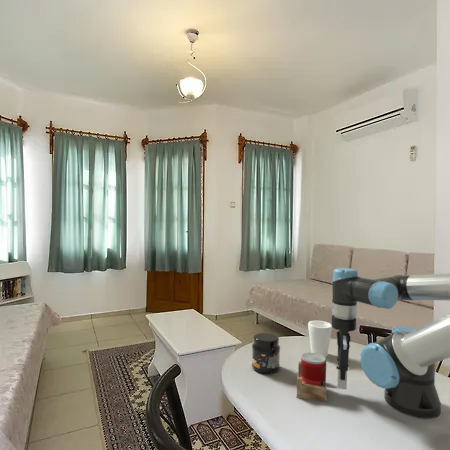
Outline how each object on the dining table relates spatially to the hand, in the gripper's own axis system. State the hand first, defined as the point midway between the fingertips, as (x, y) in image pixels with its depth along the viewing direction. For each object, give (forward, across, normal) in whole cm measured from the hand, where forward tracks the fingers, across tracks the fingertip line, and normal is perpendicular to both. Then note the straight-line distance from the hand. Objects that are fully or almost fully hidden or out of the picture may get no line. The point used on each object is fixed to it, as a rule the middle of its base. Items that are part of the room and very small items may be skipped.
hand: (341, 387), depth 106 cm
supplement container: (+2, -11, -26) cm, 29 cm away
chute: (+2, 0, -10) cm, 10 cm away
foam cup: (+2, -29, -6) cm, 30 cm away
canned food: (+2, 0, -9) cm, 9 cm away
